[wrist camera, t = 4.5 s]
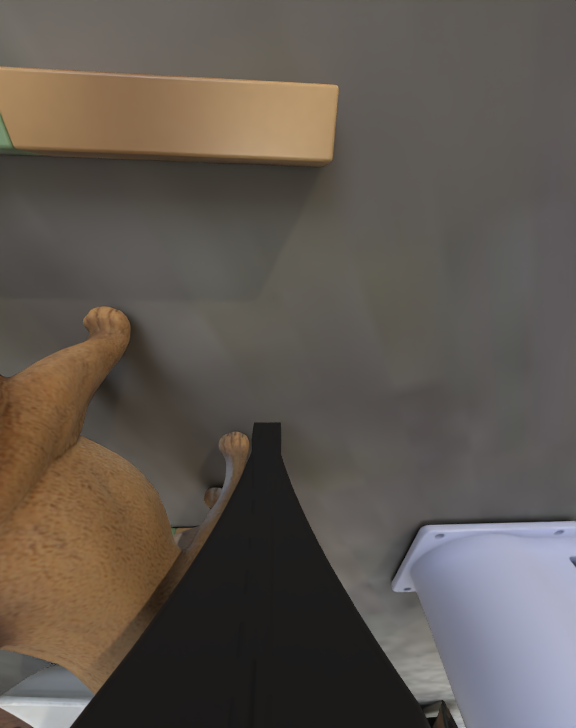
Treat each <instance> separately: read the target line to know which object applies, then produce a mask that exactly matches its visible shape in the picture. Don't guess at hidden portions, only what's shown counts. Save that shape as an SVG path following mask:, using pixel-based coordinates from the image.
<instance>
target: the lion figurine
mask: <svg viewBox="0 0 576 728" xmlns="http://www.w3.org/2000/svg"><path fill="white" fill-rule="evenodd" d="M83 324H84V326H85V327H86V328H87V329H88V331H89V332H90V334H89V337H88V338H87V340H86V341H85V342H83V343H80V344H77V345H74V346H71V347H68V348H65V349H63V350H60V351H58V352H56V353H54V354H52V355H49V356H47V357H45V358H43V359H41V360H39V361H38V362H36V363H34V364H33V365H31V366H30V367H28V368H26V369H24V370H23V371H21V372H19V373H18V374H16V375H14V376H12V377H4V376H2V375H0V649H3V650H8V651H13V652H17V653H22V654H26V655H30V656H33V657H37V658H40V659H43V660H47V661H50V662H53V663H56V664H58V665H60V666H62V667H64V668H66V669H68V670H69V671H70V672H71V673H73V674H74V675H75V676H76V677H77V678H78V679H79V680H80V681H81V682H82V683H84V684H85V685H86V686H87V687H88V688H89V689H90V690H91V692H92V693H93V694H94V695H95V694H96V693H97V692H98V691H99V689H100V688H101V687H102V685H103V684H104V683H105V682H106V680H107V679H108V678H109V677H110V675H111V674H112V673H113V671H114V670H115V669H116V668H117V666H118V665H119V664H120V663H121V661H122V660H123V659H124V657H125V656H126V655H127V654H128V652H129V651H130V650H131V648H132V647H133V646H134V644H135V643H136V642H137V640H138V639H139V638H140V636H141V635H142V633H143V632H144V631H145V629H146V628H147V626H148V625H149V624H150V622H151V621H152V620H153V618H154V617H155V615H156V614H157V613H158V611H159V610H160V608H161V607H162V606H163V604H164V603H165V601H166V600H167V599H168V597H169V596H170V595H171V593H172V592H173V590H174V589H175V587H176V586H177V585H178V583H179V582H180V580H181V579H182V577H183V576H184V574H185V573H186V571H187V570H188V568H189V567H190V565H191V563H192V562H193V560H194V559H195V557H196V556H197V554H198V553H199V551H200V549H201V548H202V546H203V545H204V543H205V542H206V540H207V538H208V537H209V535H210V533H211V532H212V530H213V528H214V527H215V525H216V523H217V521H218V520H219V518H220V516H221V514H222V513H223V511H224V509H225V507H226V505H227V503H228V501H229V499H230V497H231V496H232V494H233V492H234V490H235V488H236V486H237V484H238V482H239V480H240V478H241V475H242V473H243V471H244V469H245V463H246V459H247V455H248V451H249V441H248V438H247V437H246V435H244V434H242V433H240V432H231V433H228V434H225V435H223V436H222V437H221V439H220V441H219V449H220V451H221V452H222V454H223V455H224V457H225V459H226V463H227V464H226V478H225V482H224V485H223V488H222V489H221V488H210V489H208V490H207V491H206V493H205V496H204V501H205V504H206V505H207V506H208V507H209V508H210V509H211V510H210V512H209V513H208V515H207V516H206V518H205V520H204V521H203V523H202V524H201V525H199V526H197V527H194V528H191V529H188V530H185V531H182V532H180V533H177V534H174V535H173V534H172V530H171V525H170V522H169V520H168V517H167V514H166V511H165V508H164V506H163V504H162V501H161V499H160V496H159V494H158V492H157V491H156V489H155V488H154V487H153V486H152V485H151V483H150V482H149V481H148V480H147V479H146V477H145V476H144V475H143V474H142V473H141V472H140V471H139V470H138V469H137V468H136V467H135V466H134V465H132V464H131V463H130V462H128V461H127V460H125V459H124V458H122V457H121V456H120V455H118V454H116V453H114V452H112V451H111V450H109V449H107V448H105V447H103V446H101V445H99V444H97V443H95V442H93V441H91V440H89V439H87V438H85V437H83V436H81V435H80V433H81V431H82V427H83V423H84V419H85V415H86V411H87V407H88V405H89V402H90V400H91V398H92V396H93V395H94V393H95V391H96V390H97V388H98V387H99V386H100V384H101V383H102V382H103V380H104V379H105V378H106V376H107V374H108V373H109V372H110V370H111V369H112V368H113V366H115V365H116V364H117V363H118V362H119V361H120V359H121V357H122V355H123V354H124V352H125V350H126V348H127V345H128V343H129V340H130V331H131V327H130V323H129V321H128V319H127V317H126V316H125V315H124V314H123V313H122V312H121V311H119V310H117V309H114V308H111V307H108V306H102V307H96V308H94V309H91V310H90V311H89V313H88V315H87V316H86V317H84V319H83Z"/></svg>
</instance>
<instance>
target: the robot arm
mask: <svg viewBox="0 0 576 728" xmlns="http://www.w3.org/2000/svg"><path fill="white" fill-rule="evenodd" d="M391 586H392V589H393V591H395V592H415V591H417V594H418V597H419V600H420V602H421V605H422V608H423V611H424V613H425V616H426V619H427V622H428V624H429V627H430V630H431V633H432V636H433V638H434V641H435V644H436V647H437V649H438V652H439V655H440V658H441V660H442V663H443V666H444V669H445V671H446V674H447V677H448V680H449V682H450V685H451V688H452V691H453V694H454V696H455V699H456V702H457V705H458V707H459V710H460V713H461V716H462V718H463V721H464V724H465V727H466V728H576V521H553V522H517V523H480V524H443V525H426V526H423V527H422V528H421V529H420V530H419V532H418V534H417V536H416V537H415V539H414V541H413V543H412V545H411V547H410V549H409V551H408V553H407V555H406V556H405V558H404V560H403V562H402V564H401V566H400V568H399V570H398V572H397V574H396V576H395V577H394V579H393V581H392V583H391ZM70 728H431V727H430V724H429V722H428V720H427V718H426V716H425V714H424V712H423V710H422V708H421V706H420V705H419V703H418V702H417V700H416V699H415V697H414V696H413V694H412V693H411V691H410V690H409V689H408V687H407V686H406V684H405V683H404V681H403V680H402V678H401V677H400V675H399V674H398V672H397V671H396V669H395V668H394V666H393V665H392V663H391V662H390V660H389V659H388V657H387V656H386V654H385V653H384V651H383V650H382V648H381V647H380V645H379V644H378V642H377V641H376V639H375V638H374V636H373V634H372V633H371V631H370V630H369V628H368V627H367V625H366V623H365V622H364V620H363V619H362V617H361V615H360V614H359V612H358V611H357V609H356V607H355V606H354V604H353V602H352V601H351V599H350V597H349V596H348V594H347V592H346V590H345V589H344V587H343V585H342V584H341V582H340V580H339V579H338V577H337V575H336V574H335V572H334V570H333V568H332V567H331V565H330V563H329V561H328V560H327V558H326V556H325V554H324V552H323V550H322V548H321V546H320V545H319V543H318V541H317V539H316V537H315V535H314V533H313V531H312V529H311V527H310V525H309V523H308V521H307V519H306V517H305V514H304V512H303V510H302V508H301V506H300V503H299V501H298V499H297V496H296V494H295V492H294V489H293V487H292V484H291V482H290V479H289V476H288V474H287V471H286V468H285V465H284V462H283V459H282V456H281V423H254V427H253V433H252V452H251V455H250V457H249V459H248V462H247V464H246V466H245V469H244V471H243V473H242V475H241V478H240V480H239V482H238V484H237V486H236V488H235V490H234V492H233V494H232V496H231V497H230V499H229V501H228V503H227V505H226V507H225V509H224V511H223V513H222V514H221V516H220V518H219V520H218V521H217V523H216V525H215V527H214V528H213V530H212V532H211V533H210V535H209V537H208V538H207V540H206V542H205V543H204V545H203V546H202V548H201V549H200V551H199V553H198V554H197V556H196V557H195V559H194V560H193V562H192V563H191V565H190V567H189V568H188V570H187V571H186V573H185V574H184V576H183V577H182V579H181V580H180V582H179V583H178V585H177V586H176V587H175V589H174V590H173V592H172V593H171V595H170V596H169V597H168V599H167V600H166V601H165V603H164V604H163V606H162V607H161V608H160V610H159V611H158V613H157V614H156V615H155V617H154V618H153V620H152V621H151V622H150V624H149V625H148V626H147V628H146V629H145V631H144V632H143V633H142V635H141V636H140V638H139V639H138V640H137V642H136V643H135V644H134V646H133V647H132V648H131V650H130V651H129V652H128V654H127V655H126V656H125V657H124V659H123V660H122V661H121V663H120V664H119V665H118V666H117V668H116V669H115V670H114V671H113V673H112V674H111V675H110V677H109V678H108V679H107V680H106V682H105V683H104V684H103V685H102V687H101V688H100V689H99V691H98V692H97V693H96V694H95V696H94V697H93V698H92V700H91V701H90V702H89V703H88V705H87V706H86V707H85V708H84V710H83V711H82V712H81V714H80V715H79V716H78V717H77V719H76V720H75V721H74V723H73V724H72V725H71V727H70Z"/></svg>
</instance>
